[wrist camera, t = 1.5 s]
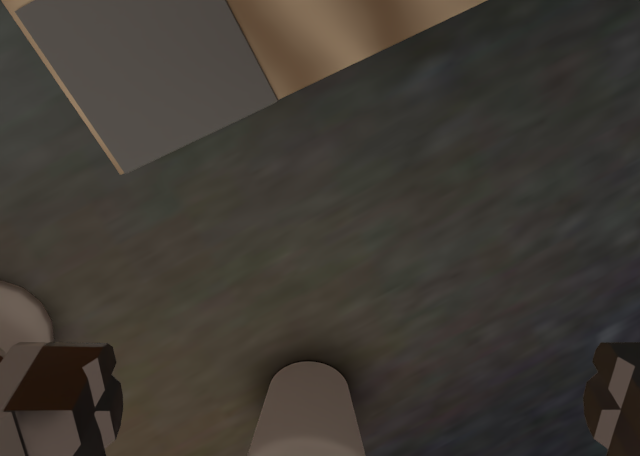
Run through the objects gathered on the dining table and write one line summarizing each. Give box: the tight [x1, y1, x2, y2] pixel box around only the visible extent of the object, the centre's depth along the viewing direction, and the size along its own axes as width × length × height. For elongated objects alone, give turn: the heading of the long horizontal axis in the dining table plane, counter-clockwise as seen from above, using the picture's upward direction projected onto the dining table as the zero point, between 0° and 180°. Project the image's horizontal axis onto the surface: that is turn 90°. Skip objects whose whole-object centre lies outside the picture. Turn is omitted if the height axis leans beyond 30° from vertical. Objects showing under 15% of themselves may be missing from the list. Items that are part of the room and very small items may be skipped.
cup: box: [247, 361, 365, 456], centre depth 46 cm, size 9×9×12 cm
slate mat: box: [15, 0, 278, 174], centre depth 36 cm, size 11×11×1 cm
